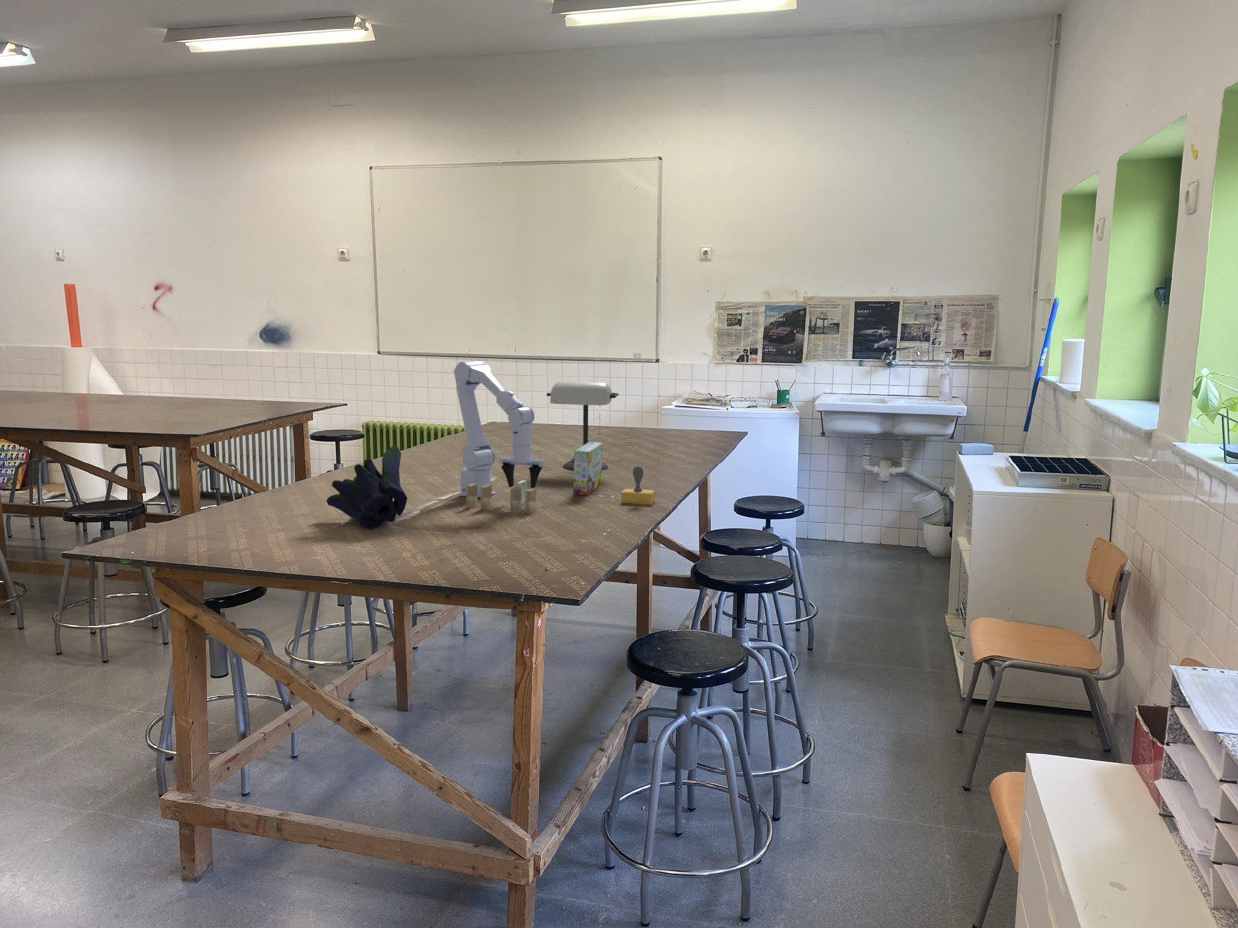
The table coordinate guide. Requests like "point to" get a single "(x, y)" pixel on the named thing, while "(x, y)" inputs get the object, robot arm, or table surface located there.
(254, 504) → the table surface
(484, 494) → the domino
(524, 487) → the domino
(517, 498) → the domino
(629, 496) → the rubber stamp
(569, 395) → the lamp
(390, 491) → the dark blue lobed piece
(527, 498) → the domino
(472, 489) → the domino
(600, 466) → the snack box
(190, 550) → the table surface
